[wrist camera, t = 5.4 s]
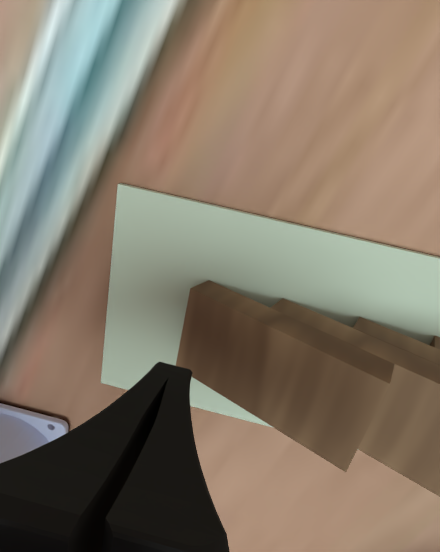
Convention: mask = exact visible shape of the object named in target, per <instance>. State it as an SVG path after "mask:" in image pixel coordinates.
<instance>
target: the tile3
mask: <svg viewBox="0 0 440 552" xmlns="http://www.w3.org/2000/svg"><path fill="white" fill-rule="evenodd" d="M353 328H354V329H356V330H359V331H361V332H363V333H366V334H368V335H370V336H373V337H375V338H377V339H380V340H382V341H384V342H386V343H389V344H391V345H393V346H396V347H398V348H400V349H403V350H405V351H407V352H410V353H412V354H414V355H417V356H419V357H421V358H424V359H426V360H428V361H431V362H433V363H435V364H438V365H440V349H437V348H435V347H432V346H430V345H427V344H425V343H423V342H420V341H418V340H415V339H413V338H411V337H408V336H406V335H403V334H401V333H398V332H396V331H394V330H391V329H389V328H386V327H384V326H381V325H379V324H377V323H374V322H372V321H369V320H367V319H365V318H362V317H360V316H359V318H358V320H357V322H356V323H355V325H354V327H353Z"/></svg>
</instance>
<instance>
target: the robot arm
mask: <svg viewBox="0 0 440 552" xmlns="http://www.w3.org/2000/svg"><path fill="white" fill-rule="evenodd" d="M191 377H192V371H191V370H190V369H187V368H183V367H179V366H175V365H171V364H167V363H163V362H158V363H156V364H155V365H154V366H153V368H152V369H151V370H150V371H149V372H148V373H147V374H146V375H145V376H144V377H143V378H142V379H140V380H139V381H138V382H137V383H136V384H135V385H134V386H133V387H132V388H130V389H129V390H128V391H127V392H126V393H125V394H123V395H122V396H121V397H120V398H118V399H117V400H116V401H115V402H113V403H112V404H111V405H109V406H108V407H107V408H105V409H104V410H103V411H101V412H100V413H98V414H97V415H95V416H94V417H92V418H91V419H89V420H88V421H86V422H85V423H83V424H81V425H80V426H78V427H76V428H75V429H73V430H71V431H69V432H68V424H67V422H66V421H64V420H62V419H58V418H54V417H51V416H47V415H43V414H39V413H36V412H32V411H28V410H24V409H21V408H17V407H13V406H9V405H5V404H2V403H0V552H229V547H228V540H227V534H226V532H225V530H224V528H223V525H222V523H221V521H220V519H219V516H218V514H217V512H216V509H215V507H214V504H213V502H212V499H211V496H210V494H209V491H208V488H207V485H206V482H205V479H204V476H203V473H202V469H201V466H200V462H199V458H198V454H197V450H196V445H195V440H194V435H193V428H192V421H191V411H190V382H191Z"/></svg>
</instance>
